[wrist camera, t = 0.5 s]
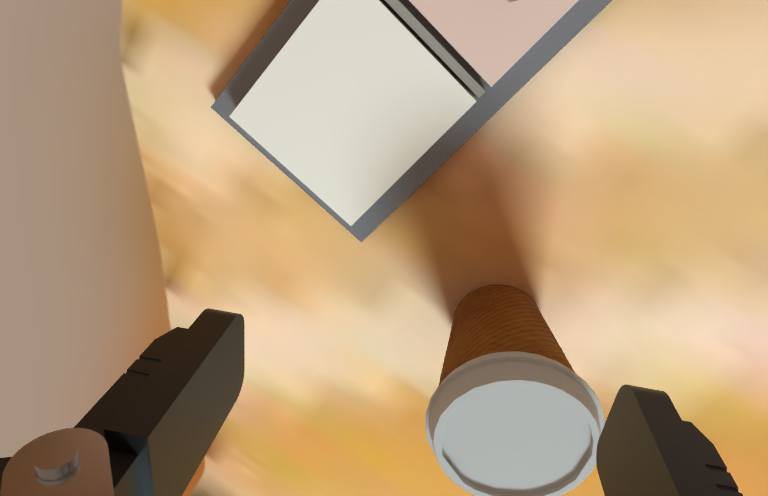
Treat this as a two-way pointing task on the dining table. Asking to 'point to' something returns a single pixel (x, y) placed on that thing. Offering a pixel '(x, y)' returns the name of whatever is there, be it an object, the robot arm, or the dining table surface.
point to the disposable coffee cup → (511, 402)
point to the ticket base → (369, 99)
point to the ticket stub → (492, 29)
